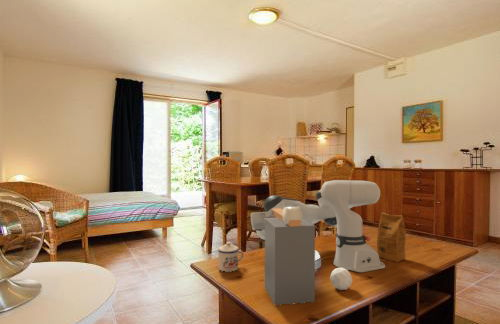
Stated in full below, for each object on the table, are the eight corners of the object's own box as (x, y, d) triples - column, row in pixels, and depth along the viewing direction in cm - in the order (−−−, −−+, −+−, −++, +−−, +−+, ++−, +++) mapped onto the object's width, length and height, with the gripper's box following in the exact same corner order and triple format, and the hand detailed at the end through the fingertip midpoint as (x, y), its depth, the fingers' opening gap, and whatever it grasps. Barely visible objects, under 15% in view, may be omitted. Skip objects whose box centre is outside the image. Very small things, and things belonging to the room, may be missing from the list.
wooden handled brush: (281, 213, 120) (281, 198, 120) (302, 226, 97) (302, 208, 97) (269, 213, 119) (269, 199, 119) (288, 226, 96) (288, 208, 96)
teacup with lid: (222, 274, 122) (222, 246, 122) (215, 267, 130) (215, 241, 130) (247, 269, 127) (248, 242, 127) (239, 262, 135) (239, 237, 135)
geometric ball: (335, 294, 109) (325, 273, 113) (354, 286, 110) (343, 266, 114) (338, 292, 103) (327, 270, 107) (358, 284, 103) (347, 262, 107)
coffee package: (385, 253, 150) (385, 210, 150) (408, 260, 140) (409, 214, 140) (373, 256, 145) (373, 212, 145) (396, 263, 134) (397, 216, 134)
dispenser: (299, 284, 112) (299, 217, 112) (314, 302, 98) (314, 225, 98) (264, 286, 109) (264, 218, 109) (274, 305, 95) (275, 227, 95)
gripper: (294, 228, 128) (304, 218, 117) (248, 230, 125) (254, 219, 113) (291, 214, 131) (301, 203, 120) (247, 216, 128) (253, 204, 116)
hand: (278, 211), depth 116 cm, fingers closed on wooden handled brush, 4 cm apart
